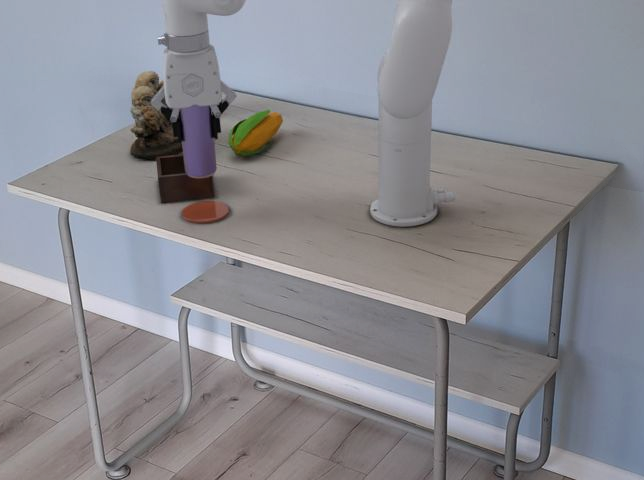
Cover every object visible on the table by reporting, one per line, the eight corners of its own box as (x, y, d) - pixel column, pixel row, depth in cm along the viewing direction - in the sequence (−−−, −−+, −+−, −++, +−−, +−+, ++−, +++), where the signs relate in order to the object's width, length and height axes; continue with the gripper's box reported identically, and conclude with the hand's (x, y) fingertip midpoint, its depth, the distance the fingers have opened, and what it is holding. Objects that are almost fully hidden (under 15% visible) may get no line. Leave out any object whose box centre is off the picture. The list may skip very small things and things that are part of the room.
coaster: (226, 201, 202) (226, 198, 202) (230, 220, 194) (230, 218, 194) (180, 205, 201) (180, 203, 201) (183, 225, 194) (183, 223, 193)
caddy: (210, 176, 212) (207, 151, 209) (214, 197, 204) (211, 171, 201) (159, 181, 211) (155, 156, 208) (161, 203, 202) (157, 177, 199)
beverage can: (212, 180, 190) (204, 102, 182) (181, 178, 191) (172, 101, 183) (220, 167, 195) (213, 90, 187) (190, 166, 196) (182, 89, 188)
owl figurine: (163, 166, 218) (153, 87, 209) (116, 159, 222) (105, 82, 213) (204, 135, 231) (197, 61, 222) (159, 129, 236) (150, 56, 226)
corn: (218, 126, 215) (264, 95, 229) (219, 159, 219) (264, 127, 234) (249, 133, 212) (293, 101, 227) (249, 167, 216) (293, 133, 231)
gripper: (138, 51, 175) (151, 150, 185) (239, 42, 177) (246, 141, 187) (138, 39, 182) (150, 135, 192) (234, 30, 184) (241, 126, 193)
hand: (197, 137), depth 189 cm, fingers closed on beverage can, 6 cm apart
